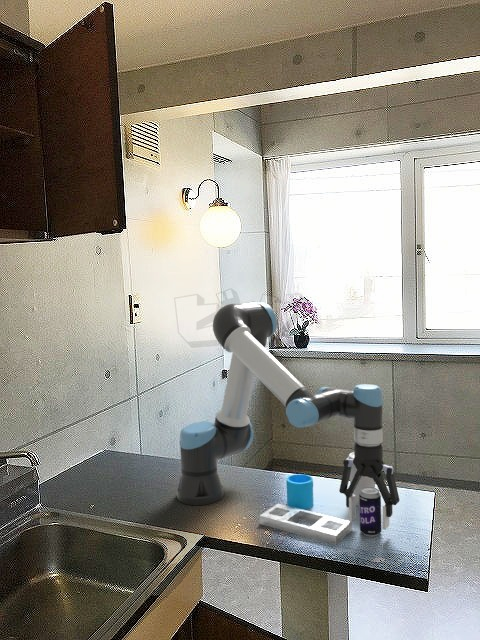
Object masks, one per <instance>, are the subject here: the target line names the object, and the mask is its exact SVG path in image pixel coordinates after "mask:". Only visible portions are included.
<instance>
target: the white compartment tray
mask: <svg viewBox="0 0 480 640" xmlns="http://www.w3.org/2000/svg"><path fill="white" fill-rule="evenodd" d="M299 520H302V521H306V522H310V523H313V524H312V525H311V526H308V525H305V524H301V523H297V522H299ZM259 524H260V525H263V526H265V527H269V528H274V529H276V530H280V531H284V532H287V533H291V534H295V535H298V536H303V537H306V538H310V539H312V540H316V541H320V542H324V543H326V544H330V545H331V544H332V545H335V546H337V545H338V544H339V543H340V542H341V541H342V540H344V538H345V537H346V536H348V535H349V533H351V532H352V531H353V520H352V521H349V519H343V518H339V517H336V516H331V515H327V514H322V513H319V512H315V511H311V510H308V509H305V510H303V509H299V508H295V507H291V506H288V505H287V504H282V503H276V504H275V505H274V506H272V507H270V508H268V509H267V510H266V511H264V512H263V513H261V514H260V515H259Z"/></svg>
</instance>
